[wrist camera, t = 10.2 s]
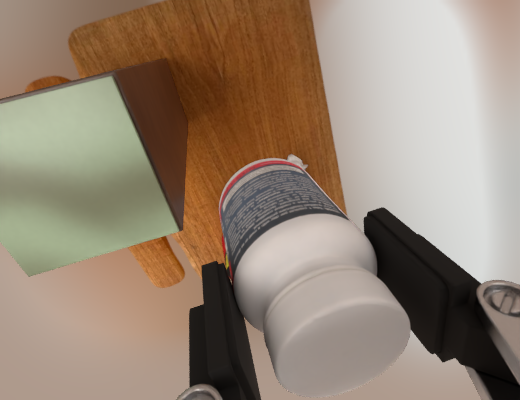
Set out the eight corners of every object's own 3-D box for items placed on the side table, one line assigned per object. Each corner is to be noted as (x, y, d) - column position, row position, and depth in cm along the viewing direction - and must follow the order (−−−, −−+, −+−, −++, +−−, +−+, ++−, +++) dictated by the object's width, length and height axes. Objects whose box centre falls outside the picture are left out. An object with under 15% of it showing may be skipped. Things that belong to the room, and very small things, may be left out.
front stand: (98, 75, 43) (-102, 124, 14) (165, 58, 43) (113, 70, 14) (128, 140, 47) (27, 280, 18) (188, 123, 48) (183, 233, 19)
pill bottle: (196, 205, 15) (204, 375, 7) (274, 134, 14) (378, 239, 6) (262, 259, 17) (321, 429, 10) (331, 201, 16) (457, 336, 9)
